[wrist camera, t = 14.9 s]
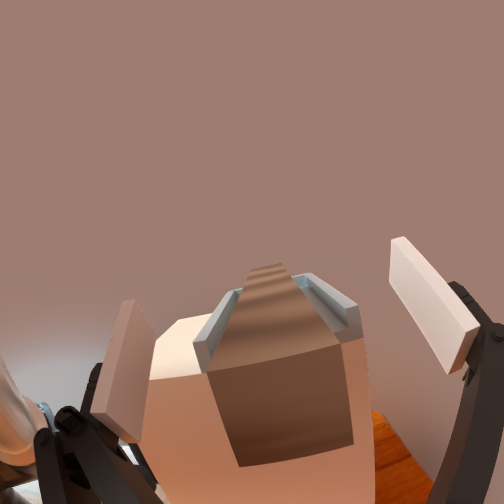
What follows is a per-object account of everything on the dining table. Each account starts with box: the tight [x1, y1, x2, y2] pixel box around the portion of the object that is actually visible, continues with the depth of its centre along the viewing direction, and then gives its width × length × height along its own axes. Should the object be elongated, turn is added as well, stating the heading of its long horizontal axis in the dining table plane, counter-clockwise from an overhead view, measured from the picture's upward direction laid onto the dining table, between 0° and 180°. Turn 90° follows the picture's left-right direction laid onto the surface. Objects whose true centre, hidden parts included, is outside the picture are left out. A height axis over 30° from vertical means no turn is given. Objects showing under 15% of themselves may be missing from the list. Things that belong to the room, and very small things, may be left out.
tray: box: [192, 272, 364, 373], centre depth 32 cm, size 23×12×2 cm, turn 178°
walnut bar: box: [206, 263, 354, 467], centre depth 24 cm, size 32×4×4 cm, turn 178°
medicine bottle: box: [134, 465, 171, 504], centre depth 31 cm, size 7×7×12 cm
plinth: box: [137, 313, 375, 504], centre depth 32 cm, size 24×22×30 cm
